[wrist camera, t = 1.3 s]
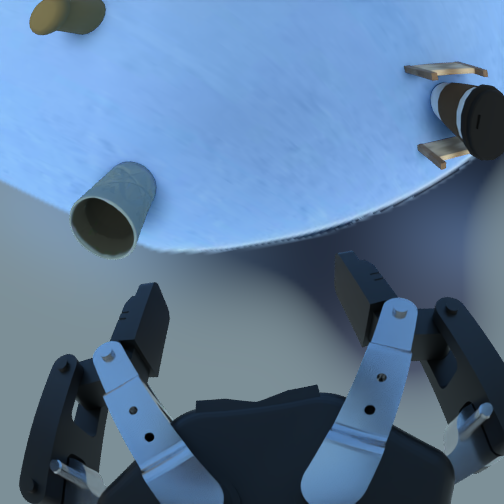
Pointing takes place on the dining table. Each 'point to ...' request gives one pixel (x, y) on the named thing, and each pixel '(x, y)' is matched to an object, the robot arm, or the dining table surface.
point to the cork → (67, 16)
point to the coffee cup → (472, 116)
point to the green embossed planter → (114, 211)
